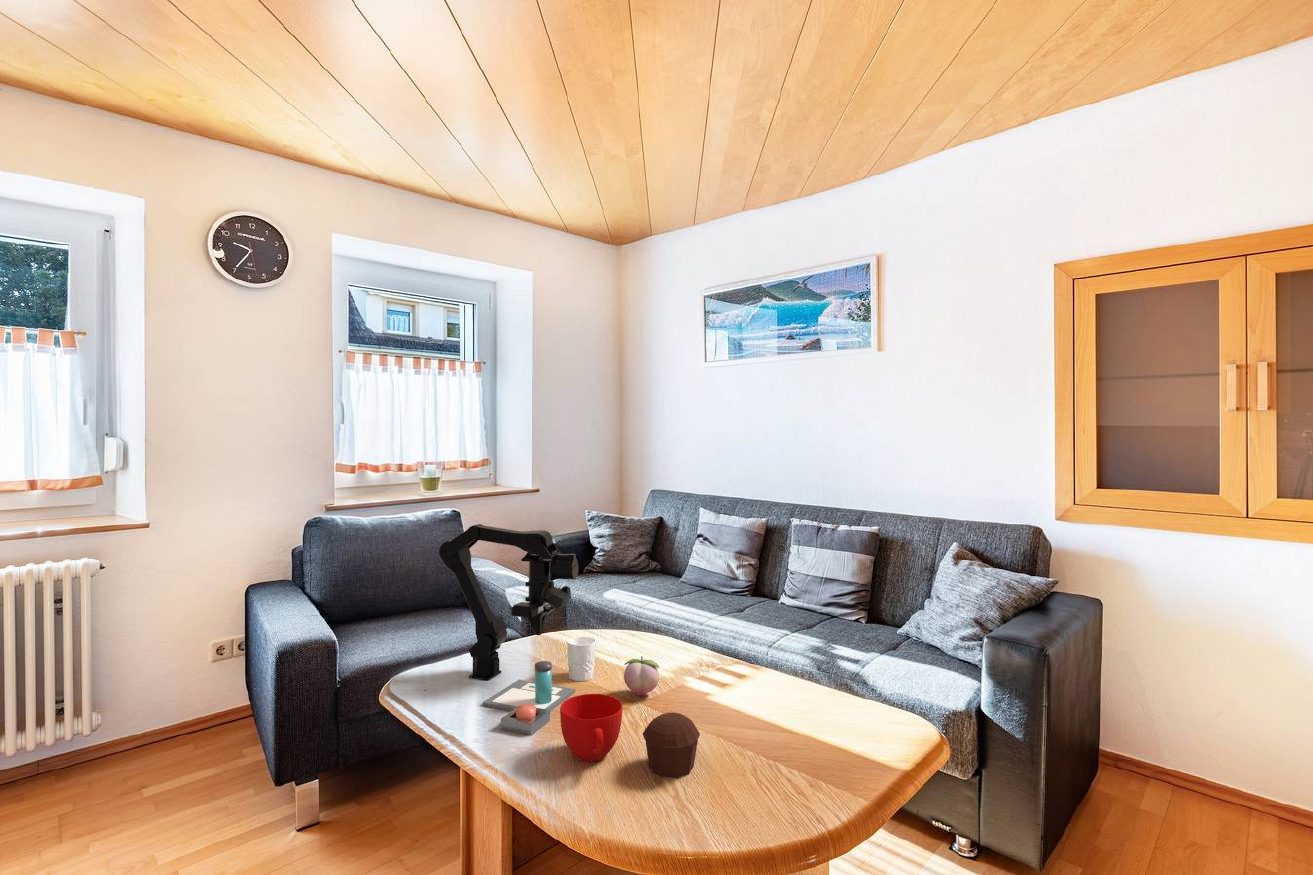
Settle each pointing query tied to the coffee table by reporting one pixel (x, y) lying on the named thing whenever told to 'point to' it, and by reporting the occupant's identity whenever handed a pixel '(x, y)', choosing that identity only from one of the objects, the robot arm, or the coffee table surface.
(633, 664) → the decorative fruit
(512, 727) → the button housing
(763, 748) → the coffee table surface
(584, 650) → the white cup
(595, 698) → the ceramic cup
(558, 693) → the drawing board
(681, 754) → the muffin
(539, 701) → the marker
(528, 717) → the button
